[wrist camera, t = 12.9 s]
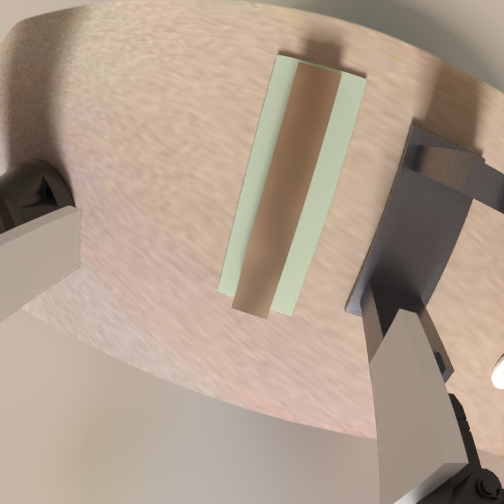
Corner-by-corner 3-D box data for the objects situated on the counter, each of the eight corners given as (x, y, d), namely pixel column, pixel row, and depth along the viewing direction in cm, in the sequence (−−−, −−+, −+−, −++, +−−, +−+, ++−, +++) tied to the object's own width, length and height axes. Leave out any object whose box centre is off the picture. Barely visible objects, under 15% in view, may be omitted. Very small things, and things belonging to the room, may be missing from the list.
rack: (344, 307, 31) (349, 390, 20) (411, 125, 24) (467, 121, 13) (410, 327, 31) (436, 408, 20) (481, 159, 23) (556, 179, 12)
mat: (219, 289, 34) (217, 291, 33) (278, 56, 24) (277, 54, 24) (291, 313, 33) (290, 316, 32) (366, 80, 24) (366, 79, 23)
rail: (240, 291, 33) (231, 307, 29) (301, 70, 24) (298, 61, 21) (272, 301, 32) (266, 319, 29) (339, 81, 24) (342, 74, 20)
